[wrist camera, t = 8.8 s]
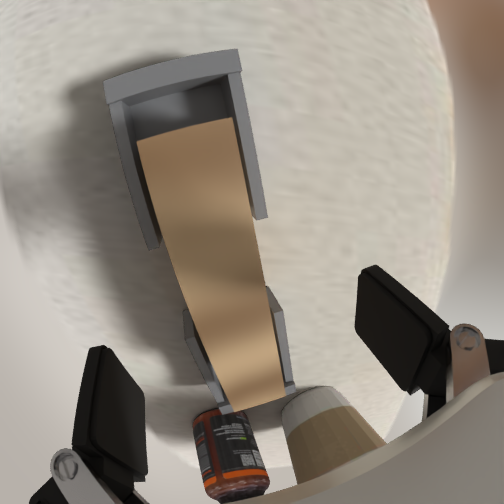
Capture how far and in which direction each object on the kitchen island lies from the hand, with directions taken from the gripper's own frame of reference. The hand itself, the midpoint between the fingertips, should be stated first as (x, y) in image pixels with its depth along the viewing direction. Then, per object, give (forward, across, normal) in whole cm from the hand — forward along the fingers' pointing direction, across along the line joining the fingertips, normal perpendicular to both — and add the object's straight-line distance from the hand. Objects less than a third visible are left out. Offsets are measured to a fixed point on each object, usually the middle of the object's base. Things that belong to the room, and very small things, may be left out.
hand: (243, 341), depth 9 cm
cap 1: (+9, 0, -6) cm, 11 cm away
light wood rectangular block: (+8, 0, +1) cm, 8 cm away
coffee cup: (+8, -5, +22) cm, 24 cm away
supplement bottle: (+8, +5, +19) cm, 21 cm away
